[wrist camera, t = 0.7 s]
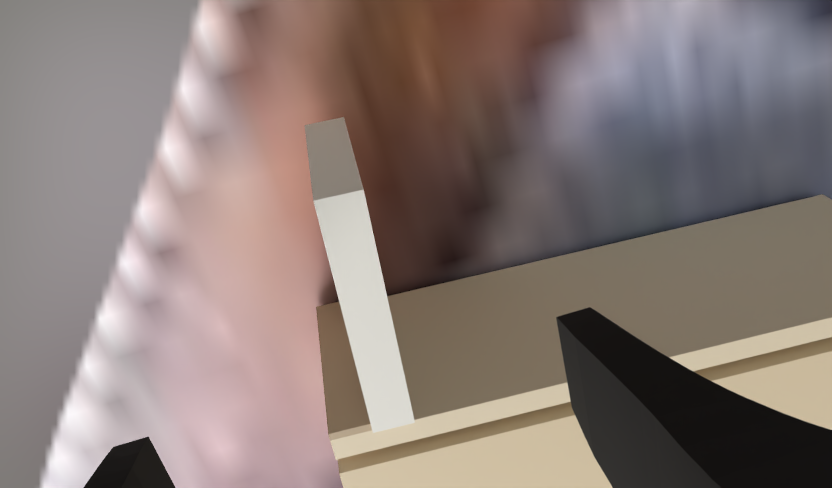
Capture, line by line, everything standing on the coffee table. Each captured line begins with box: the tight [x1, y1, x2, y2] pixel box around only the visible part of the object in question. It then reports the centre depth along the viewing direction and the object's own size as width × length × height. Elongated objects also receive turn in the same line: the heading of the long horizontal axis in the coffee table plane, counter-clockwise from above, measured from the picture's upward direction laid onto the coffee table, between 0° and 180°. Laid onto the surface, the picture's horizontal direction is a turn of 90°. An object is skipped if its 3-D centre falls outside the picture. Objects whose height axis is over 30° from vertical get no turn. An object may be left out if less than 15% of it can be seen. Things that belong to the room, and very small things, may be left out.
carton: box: [338, 337, 832, 488], centre depth 24 cm, size 16×12×6 cm
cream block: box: [305, 117, 832, 460], centre depth 20 cm, size 16×7×6 cm, turn 100°
